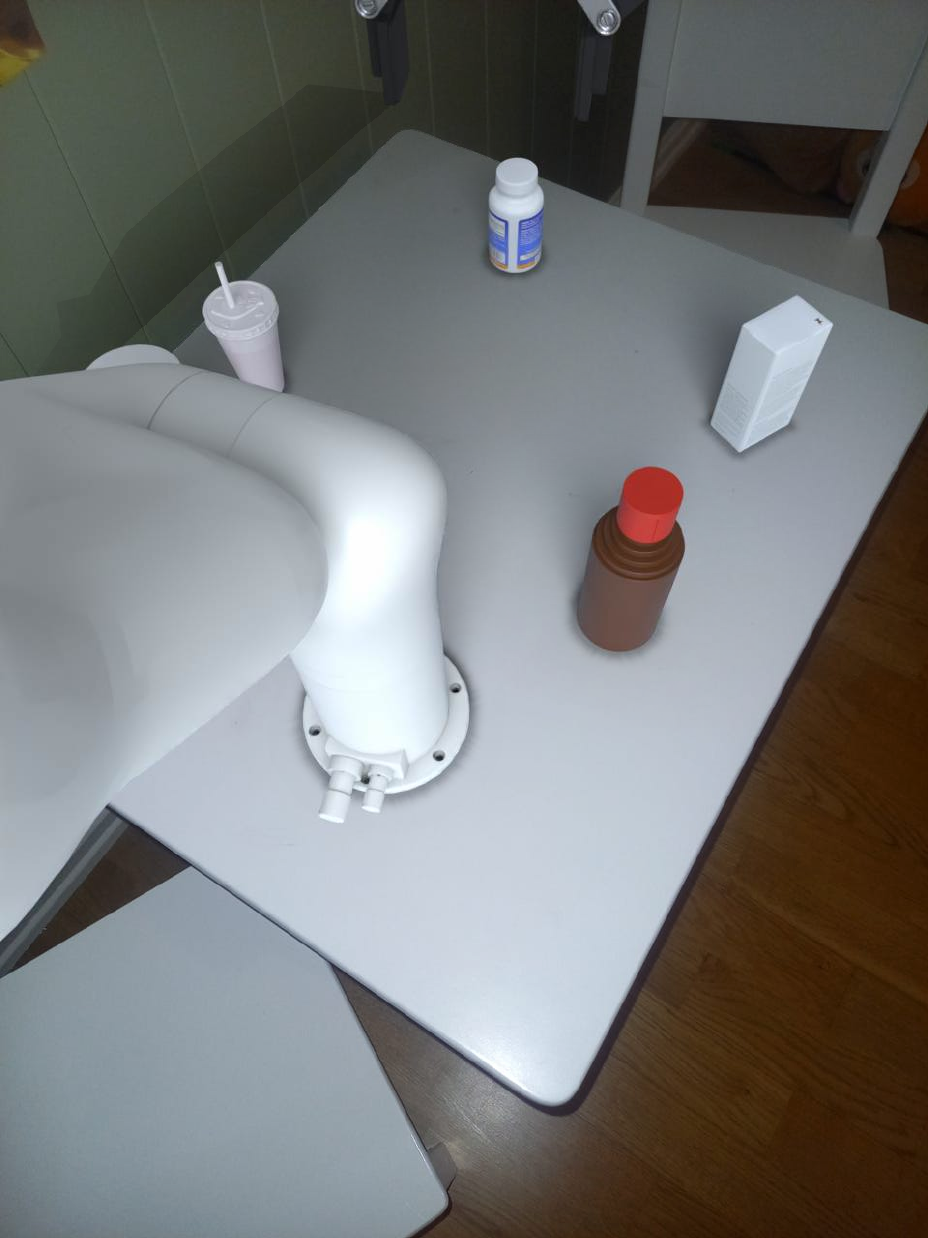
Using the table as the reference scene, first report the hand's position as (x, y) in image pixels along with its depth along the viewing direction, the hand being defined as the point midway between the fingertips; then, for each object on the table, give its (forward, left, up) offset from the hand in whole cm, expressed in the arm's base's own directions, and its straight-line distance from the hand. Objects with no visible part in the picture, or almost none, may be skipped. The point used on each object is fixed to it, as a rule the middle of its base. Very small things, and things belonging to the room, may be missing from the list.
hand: (489, 97), depth 43 cm
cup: (-3, +27, -35) cm, 45 cm away
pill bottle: (+31, +3, -35) cm, 47 cm away
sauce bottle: (-9, -13, -35) cm, 38 cm away
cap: (-9, -13, -21) cm, 26 cm away
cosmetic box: (+13, -22, -35) cm, 43 cm away
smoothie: (+9, +23, -35) cm, 43 cm away
